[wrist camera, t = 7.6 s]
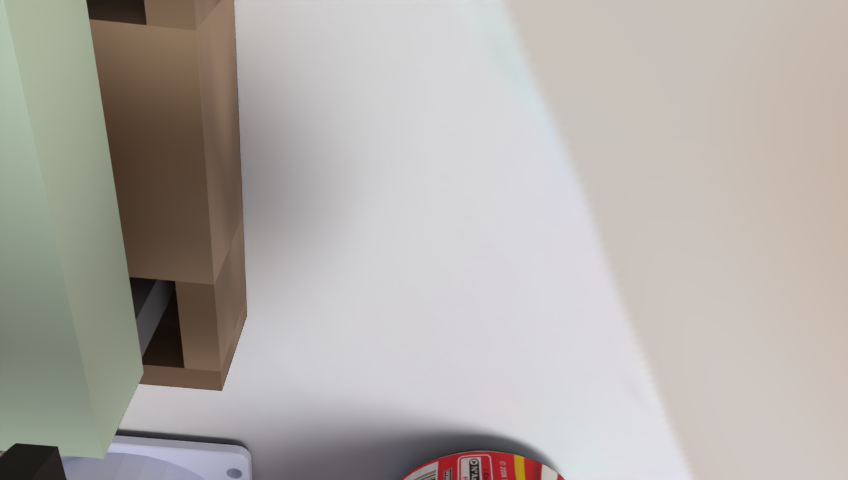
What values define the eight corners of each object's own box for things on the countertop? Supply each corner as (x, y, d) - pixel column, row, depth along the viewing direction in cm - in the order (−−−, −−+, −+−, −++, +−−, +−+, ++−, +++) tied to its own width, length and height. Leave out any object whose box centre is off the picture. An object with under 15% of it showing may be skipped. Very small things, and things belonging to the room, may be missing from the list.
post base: (247, 315, 21) (221, 391, 19) (38, 296, 21) (-15, 370, 19) (225, -199, 14) (179, -187, 12) (-95, -238, 14) (-211, -233, 11)
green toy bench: (191, 271, 21) (103, 458, 15) (82, 260, 20) (-45, 446, 15) (154, -121, 15) (-5, -42, 10) (4, -138, 15) (-245, -68, 9)
